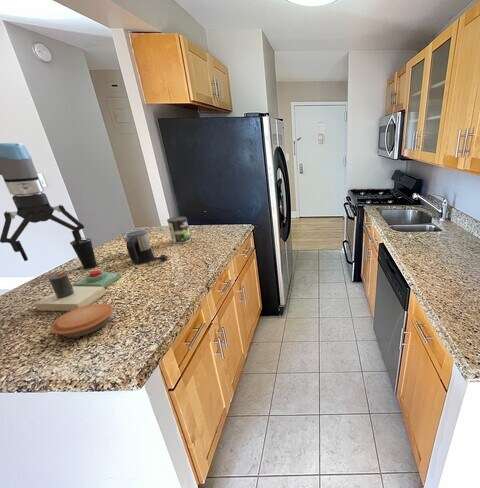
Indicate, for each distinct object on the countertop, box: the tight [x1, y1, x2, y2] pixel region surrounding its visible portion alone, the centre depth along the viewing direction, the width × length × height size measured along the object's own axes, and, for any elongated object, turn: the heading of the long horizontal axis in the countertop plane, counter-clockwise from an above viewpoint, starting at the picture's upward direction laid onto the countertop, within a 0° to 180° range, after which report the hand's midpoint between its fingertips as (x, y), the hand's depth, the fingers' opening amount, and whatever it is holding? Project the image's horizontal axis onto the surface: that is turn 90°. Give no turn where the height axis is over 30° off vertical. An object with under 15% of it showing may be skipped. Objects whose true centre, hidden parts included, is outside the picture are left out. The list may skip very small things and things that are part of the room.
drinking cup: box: [69, 237, 98, 270], centre depth 124 cm, size 8×8×20 cm
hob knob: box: [48, 271, 74, 298], centre depth 98 cm, size 5×5×8 cm
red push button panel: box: [72, 270, 122, 289], centre depth 113 cm, size 12×10×4 cm
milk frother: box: [125, 229, 169, 264], centre depth 132 cm, size 14×16×15 cm
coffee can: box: [166, 216, 192, 245], centre depth 158 cm, size 10×10×14 cm
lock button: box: [88, 269, 101, 277], centre depth 112 cm, size 4×4×2 cm
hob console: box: [33, 285, 107, 312], centre depth 100 cm, size 16×12×3 cm
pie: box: [50, 303, 114, 338], centre depth 86 cm, size 15×16×5 cm
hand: (54, 253), depth 92 cm, fingers open, 13 cm apart
